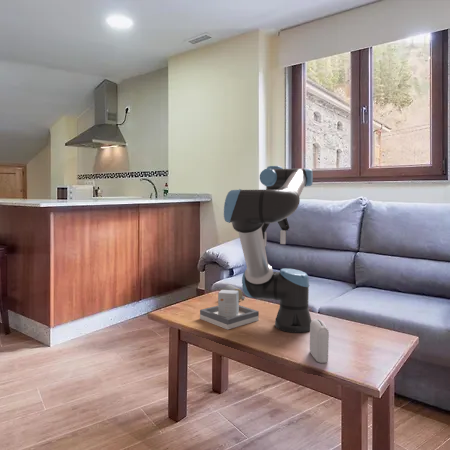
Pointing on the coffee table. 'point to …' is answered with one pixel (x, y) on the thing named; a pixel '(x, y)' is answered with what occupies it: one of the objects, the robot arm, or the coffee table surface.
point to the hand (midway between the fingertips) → (273, 245)
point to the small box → (228, 303)
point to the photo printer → (319, 340)
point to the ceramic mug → (231, 287)
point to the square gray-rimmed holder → (242, 318)
